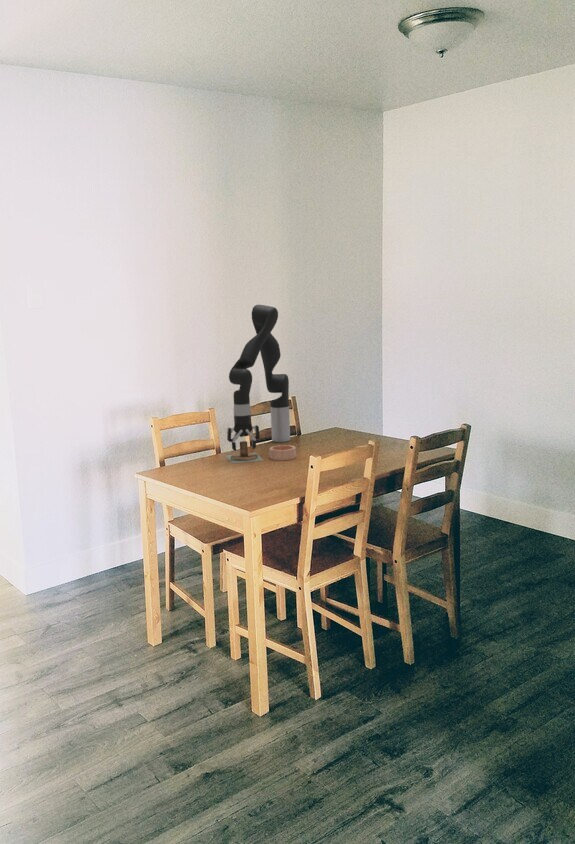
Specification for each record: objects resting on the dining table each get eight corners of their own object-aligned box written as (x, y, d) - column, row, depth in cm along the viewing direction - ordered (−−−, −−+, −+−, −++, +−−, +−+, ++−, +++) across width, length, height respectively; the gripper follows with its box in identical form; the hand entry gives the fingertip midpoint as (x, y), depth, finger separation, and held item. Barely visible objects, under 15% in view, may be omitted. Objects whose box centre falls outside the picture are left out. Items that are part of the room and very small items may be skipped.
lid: (228, 456, 323) (227, 440, 321) (254, 453, 326) (253, 438, 324) (233, 462, 311) (232, 445, 310) (260, 459, 314) (259, 443, 313)
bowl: (267, 457, 320) (267, 446, 319) (291, 454, 323) (291, 444, 322) (273, 462, 309) (273, 451, 308) (298, 460, 312) (298, 449, 311)
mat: (225, 456, 324) (225, 455, 324) (255, 453, 328) (255, 452, 328) (232, 464, 309) (232, 463, 309) (263, 461, 313) (263, 459, 313)
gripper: (256, 411, 320) (257, 446, 323) (224, 413, 317) (226, 449, 319) (260, 413, 313) (261, 449, 316) (228, 416, 309) (230, 452, 312)
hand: (244, 449), depth 318 cm, fingers open, 8 cm apart
